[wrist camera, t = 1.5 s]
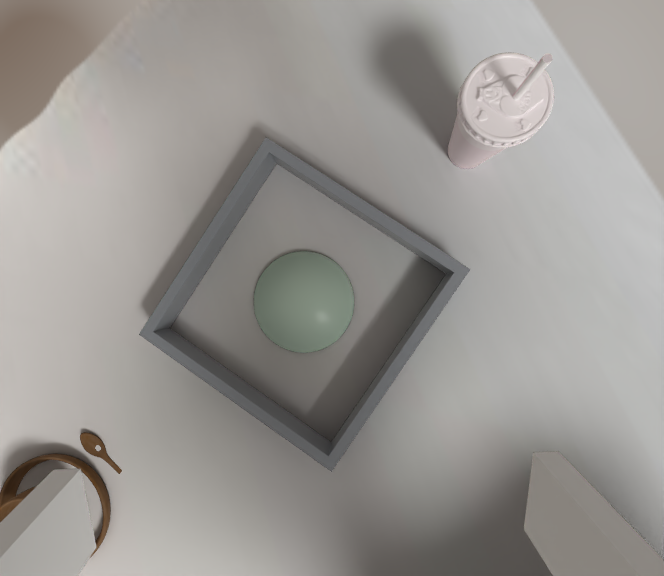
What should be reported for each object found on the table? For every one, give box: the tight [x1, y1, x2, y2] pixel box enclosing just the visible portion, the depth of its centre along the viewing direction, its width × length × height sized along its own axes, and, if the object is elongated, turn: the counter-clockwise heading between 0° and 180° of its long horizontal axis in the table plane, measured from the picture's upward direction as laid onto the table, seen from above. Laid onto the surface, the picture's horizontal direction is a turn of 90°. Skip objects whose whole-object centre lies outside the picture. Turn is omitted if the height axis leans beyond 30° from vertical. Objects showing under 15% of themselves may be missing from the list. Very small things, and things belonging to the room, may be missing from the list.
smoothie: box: [448, 53, 554, 169], centre depth 28 cm, size 6×6×14 cm
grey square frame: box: [139, 137, 470, 472], centre depth 35 cm, size 22×22×3 cm
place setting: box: [0, 432, 122, 557], centre depth 36 cm, size 18×20×6 cm
